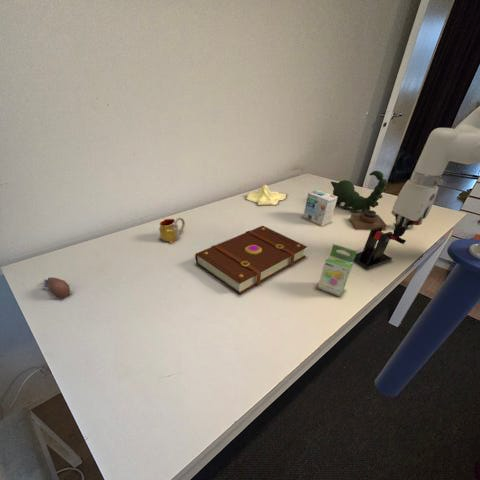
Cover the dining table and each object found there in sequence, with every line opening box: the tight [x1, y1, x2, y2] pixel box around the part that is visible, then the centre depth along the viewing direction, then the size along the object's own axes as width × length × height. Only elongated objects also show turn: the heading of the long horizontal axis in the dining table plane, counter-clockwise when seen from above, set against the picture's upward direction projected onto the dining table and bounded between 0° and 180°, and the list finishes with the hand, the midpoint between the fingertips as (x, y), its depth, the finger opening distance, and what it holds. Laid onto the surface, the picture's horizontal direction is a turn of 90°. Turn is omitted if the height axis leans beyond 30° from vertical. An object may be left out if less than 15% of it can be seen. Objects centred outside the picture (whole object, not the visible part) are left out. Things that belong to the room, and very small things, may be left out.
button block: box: [349, 212, 387, 231], centre depth 112 cm, size 12×10×4 cm
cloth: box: [245, 184, 287, 206], centre depth 131 cm, size 22×19×6 cm
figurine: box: [40, 276, 71, 299], centre depth 76 cm, size 6×5×12 cm
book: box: [194, 225, 308, 295], centre depth 89 cm, size 23×32×5 cm
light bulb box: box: [303, 189, 338, 227], centre depth 112 cm, size 11×7×11 cm, turn 40°
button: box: [365, 209, 377, 218], centre depth 110 cm, size 4×4×2 cm
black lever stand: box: [353, 227, 394, 271], centre depth 89 cm, size 12×8×11 cm, turn 118°
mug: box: [158, 217, 186, 244], centre depth 100 cm, size 12×7×7 cm, turn 144°
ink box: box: [317, 244, 358, 297], centre depth 75 cm, size 7×4×13 cm, turn 56°
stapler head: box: [373, 231, 407, 245], centre depth 89 cm, size 13×6×2 cm, turn 118°
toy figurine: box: [330, 170, 389, 214], centre depth 119 cm, size 9×19×25 cm
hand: (397, 235), depth 92 cm, fingers closed
